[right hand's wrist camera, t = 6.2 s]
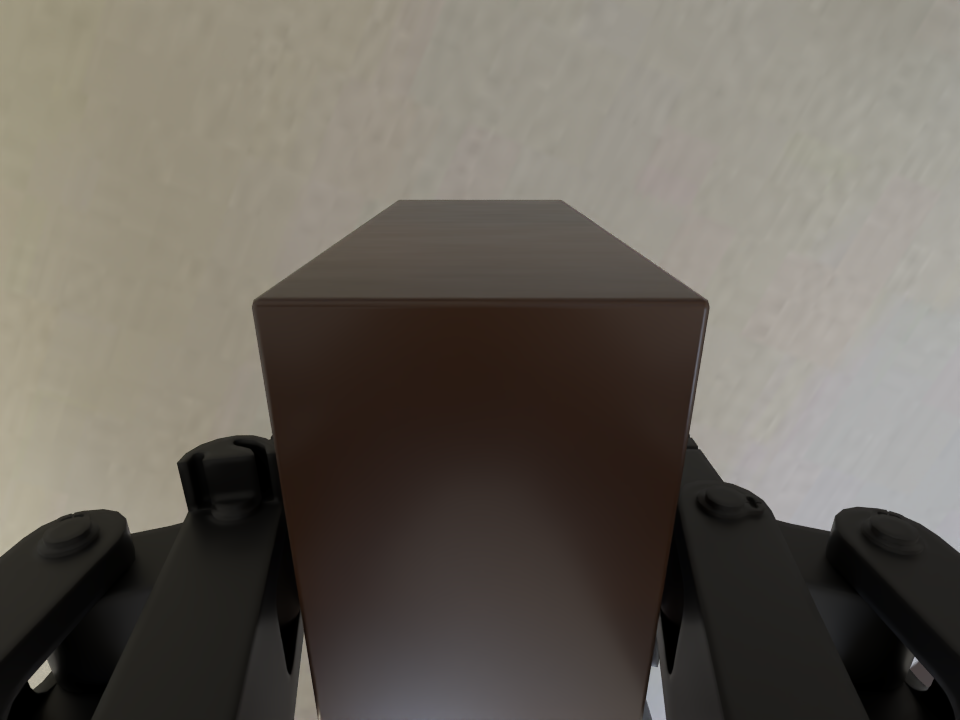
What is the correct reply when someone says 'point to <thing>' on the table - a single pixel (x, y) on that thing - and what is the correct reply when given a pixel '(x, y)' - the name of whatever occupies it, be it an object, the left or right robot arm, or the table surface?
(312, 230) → the table surface
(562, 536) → the plank
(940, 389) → the table surface
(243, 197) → the table surface
